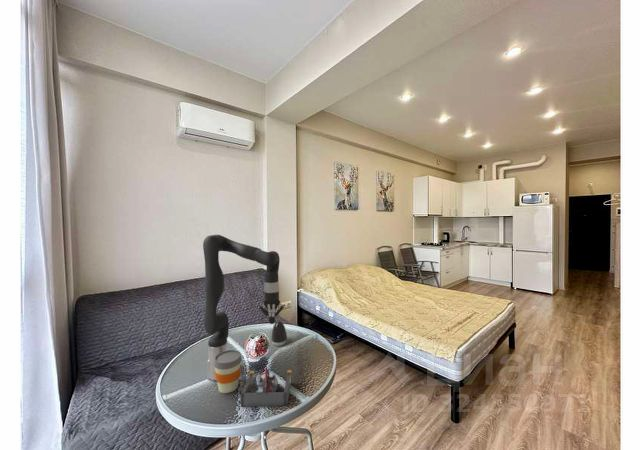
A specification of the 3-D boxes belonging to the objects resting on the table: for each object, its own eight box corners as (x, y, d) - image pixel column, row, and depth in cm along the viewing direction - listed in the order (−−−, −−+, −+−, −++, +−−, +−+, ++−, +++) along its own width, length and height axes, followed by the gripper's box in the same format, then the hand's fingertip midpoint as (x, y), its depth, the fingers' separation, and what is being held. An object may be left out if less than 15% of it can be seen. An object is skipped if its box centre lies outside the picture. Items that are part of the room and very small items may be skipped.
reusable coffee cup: (214, 398, 115) (214, 366, 115) (214, 382, 127) (213, 353, 126) (243, 391, 120) (243, 359, 120) (240, 376, 132) (239, 347, 132)
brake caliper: (281, 390, 115) (262, 373, 113) (264, 408, 114) (244, 391, 113) (282, 374, 126) (265, 358, 125) (266, 391, 125) (249, 374, 124)
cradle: (240, 406, 110) (240, 393, 110) (250, 382, 127) (250, 370, 127) (287, 405, 110) (287, 392, 110) (291, 381, 127) (291, 370, 127)
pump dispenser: (281, 339, 173) (280, 316, 173) (290, 344, 165) (289, 321, 165) (268, 344, 166) (267, 321, 166) (276, 350, 158) (276, 325, 158)
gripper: (257, 292, 128) (257, 326, 129) (283, 292, 128) (283, 326, 129) (260, 288, 136) (261, 320, 136) (285, 288, 136) (285, 320, 136)
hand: (272, 323), depth 132 cm, fingers closed
